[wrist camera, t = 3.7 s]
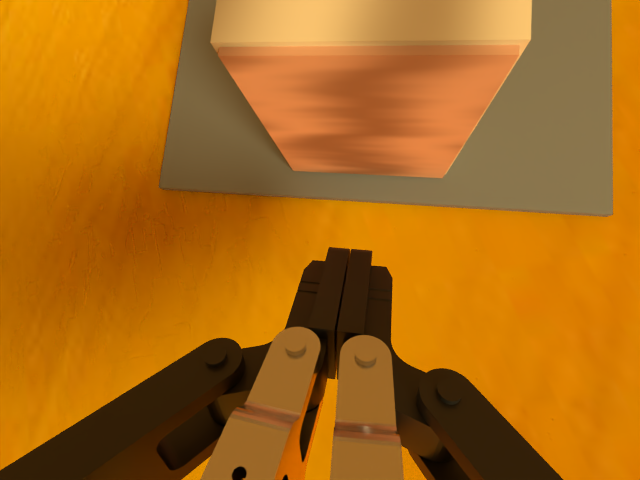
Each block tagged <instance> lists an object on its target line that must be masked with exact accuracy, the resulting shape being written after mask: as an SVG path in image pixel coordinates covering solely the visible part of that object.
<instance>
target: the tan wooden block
mask: <svg viewBox="0 0 640 480" xmlns="http://www.w3.org/2000/svg"><path fill="white" fill-rule="evenodd" d="M531 15H532V0H217V2H216V8H215V15H214V22H213V28H212V35H211V41H210V43H211V44H212V46H213V47H214V49H215V50H216V52H217V53H218V57H219V58H220V60H221V61H222V63H223V64H224V66H225V67H226V69H227V70H228V72H229V73H230V75H231V76H232V78H233V79H234V81H235V83H236V84H237V86H238V87H239V89H240V90H241V92H242V93H243V95H244V96H245V98H246V99H247V101H248V102H249V104H250V105H251V107H252V109H253V110H254V112H255V113H256V115H257V116H258V118H259V119H260V121H261V122H262V124H263V125H264V127H265V128H266V130H267V131H268V133H269V135H270V136H271V138H272V139H273V141H274V142H275V144H276V145H277V147H278V148H279V150H280V151H281V153H282V154H283V156H284V157H285V159H286V161H287V162H288V164H289V165H290V167H291V168H292V170H293V171H305V172H325V173H345V174H366V175H386V176H407V177H427V178H443V177H444V175H445V174H446V173H447V172H448V170H449V168H450V167H451V165H452V164H453V162H454V160H455V159H456V157H457V156H458V154H459V153H460V151H461V149H462V148H463V146H464V145H465V143H466V141H467V140H468V138H469V137H470V135H471V134H472V132H473V130H474V129H475V127H476V126H477V124H478V122H479V121H480V119H481V118H482V116H483V115H484V113H485V111H486V110H487V108H488V107H489V105H490V103H491V102H492V100H493V99H494V97H495V96H496V94H497V92H498V91H499V89H500V88H501V86H502V84H503V83H504V81H505V80H506V78H507V77H508V75H509V73H510V72H511V70H512V69H513V67H514V65H515V64H516V62H517V61H518V59H519V58H520V56H521V54H522V53H523V51H524V50H525V48H526V46H527V45H528V43H529V42H530V40H531Z"/></svg>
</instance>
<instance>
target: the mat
mask: <svg viewBox="0 0 640 480" xmlns="http://www.w3.org/2000/svg"><path fill="white" fill-rule="evenodd" d="M216 2H217V0H189V4H188V10H187V16H186V22H185V28H184V35H183V41H182V47H181V53H180V59H179V65H178V72H177V78H176V84H175V90H174V96H173V102H172V109H171V115H170V121H169V127H168V133H167V140H166V146H165V152H164V158H163V164H162V170H161V177H160V183H159V188H161V189H163V190H179V191H195V192H212V193H228V194H244V195H261V196H277V197H293V198H310V199H326V200H343V201H359V202H375V203H392V204H408V205H424V206H441V207H457V208H474V209H490V210H506V211H523V212H539V213H555V214H572V215H588V216H605V217H607V216H610V215H613V167H612V34H611V0H532V15H531V40H530V42H529V43H528V45H527V46H526V48H525V50H524V51H523V53H522V54H521V56H520V58H519V59H518V61H517V62H516V64H515V65H514V67H513V69H512V70H511V72H510V73H509V75H508V77H507V78H506V80H505V81H504V83H503V84H502V86H501V88H500V89H499V91H498V92H497V94H496V96H495V97H494V99H493V100H492V102H491V103H490V105H489V107H488V108H487V110H486V111H485V113H484V115H483V116H482V118H481V119H480V121H479V122H478V124H477V126H476V127H475V129H474V130H473V132H472V134H471V135H470V137H469V138H468V140H467V141H466V143H465V145H464V146H463V148H462V149H461V151H460V153H459V154H458V156H457V157H456V159H455V160H454V162H453V164H452V165H451V167H450V168H449V170H448V172H447V173H446V174H445V175H444V177H443V178H427V177H407V176H386V175H366V174H345V173H325V172H305V171H293V170H292V168H291V167H290V165H289V164H288V162H287V161H286V159H285V157H284V156H283V154H282V153H281V151H280V150H279V148H278V147H277V145H276V144H275V142H274V141H273V139H272V138H271V136H270V135H269V133H268V131H267V130H266V128H265V127H264V125H263V124H262V122H261V121H260V119H259V118H258V116H257V115H256V113H255V112H254V110H253V109H252V107H251V105H250V104H249V102H248V101H247V99H246V98H245V96H244V95H243V93H242V92H241V90H240V89H239V87H238V86H237V84H236V83H235V81H234V79H233V78H232V76H231V75H230V73H229V72H228V70H227V69H226V67H225V66H224V64H223V63H222V61H221V60H220V58H219V57H218V53H217V52H216V50H215V49H214V47H213V46H212V44H211V43H210V41H211V35H212V28H213V22H214V15H215V8H216Z"/></svg>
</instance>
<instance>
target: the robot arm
mask: <svg viewBox="0 0 640 480" xmlns="http://www.w3.org/2000/svg"><path fill="white" fill-rule="evenodd" d="M371 261H372V251H369V250H357V249H351V253H350V249H344V248H333V247H329V249H328V253H327V257H326V260H325V261H315V260H313V261H312V262H311V263H310V264H309V265H308V266H307V267H306V268H305V269H304V271H303V274H302V278H301V281H300V284H299V287H298V291H297V293H296V296H295V299H294V302H293V306H292V309H291V312H290V315H289V318H288V321H287V324H286V327H285V329H284V330H283V331H281V332H280V333H279V334H278V335H277V336H276V337H275V338H274V340H273V341H272V342H270V343H268V344H265V345H261V346H255V347H249V348H243V349H241V347H240V346H239V344H238V343H237V342H235V341H234V340H231V339H228V338H217V339H213V340H210V341H208V342H206V343H204V344H203V345H201V346H199V347H198V348H196V349H195V350H193V351H191V352H190V353H188V354H187V355H185V356H183V357H182V358H180V359H179V360H177V361H175V362H174V363H172V364H170V365H169V366H167V367H166V368H164V369H162V370H161V371H159V372H158V373H156V374H154V375H153V376H151V377H150V378H148V379H146V380H145V381H143V382H142V383H140V384H138V385H137V386H135V387H134V388H132V389H130V390H129V391H127V392H126V393H124V394H122V395H121V396H119V397H118V398H116V399H114V400H113V401H111V402H109V403H108V404H106V405H105V406H103V407H101V408H100V409H98V410H97V411H95V412H93V413H92V414H90V415H89V416H87V417H85V418H84V419H82V420H81V421H79V422H77V423H76V424H74V425H73V426H71V427H69V428H68V429H66V430H65V431H63V432H61V433H60V434H58V435H56V436H55V437H53V438H52V439H50V440H48V441H47V442H45V443H44V444H42V445H40V446H39V447H37V448H36V449H34V450H32V451H31V452H29V453H28V454H26V455H24V456H23V457H21V458H20V459H18V460H16V461H15V462H13V463H12V464H10V465H8V466H7V467H5V468H3V469H2V470H0V480H181V479H183V478H184V477H185V476H186V475H188V474H189V473H190V472H191V471H192V470H194V469H195V468H196V467H197V466H199V465H200V464H201V463H202V462H204V461H205V460H206V459H207V458H208V457H210V456H211V455H212V456H211V458H210V460H209V462H208V464H207V466H206V469H205V471H204V473H203V475H202V477H201V479H200V480H304V479H305V471H306V466H307V461H308V457H309V454H310V450H311V446H312V442H313V438H314V434H315V431H316V427H317V423H318V419H319V415H320V411H321V408H322V404H323V397H324V393H325V387H326V382H327V378H330V379H335V375H336V369H337V379H338V391H337V405H336V420H335V427H334V435H333V447H332V461H331V475H330V480H404V477H403V464H402V450H401V445H402V446H403V447H405V448H407V449H408V451H409V453H410V455H411V457H412V458H413V460H414V461H415V463H416V464H417V466H418V467H419V469H420V470H421V472H422V473H423V475H424V476H425V478H426V479H427V480H563V479H562V478H561V477H560V476H559V475H558V474H557V473H556V472H555V471H554V469H553V468H552V467H551V466H550V465H549V464H548V463H547V462H546V461H545V460H544V459H543V458H542V457H541V456H540V455H539V454H538V453H537V452H536V451H535V450H534V448H533V447H532V446H531V445H530V444H529V443H528V442H527V441H526V440H525V439H524V438H523V437H522V436H521V435H520V434H519V433H518V432H517V431H516V430H515V429H514V427H513V426H512V425H511V424H510V423H509V422H508V421H507V420H506V419H505V418H504V417H503V416H502V415H501V414H500V413H499V412H498V411H497V410H496V409H495V408H494V407H493V405H492V404H491V403H490V402H489V401H488V400H487V399H486V398H485V397H484V396H483V395H482V394H481V393H480V392H479V391H478V390H477V389H476V388H475V387H474V386H473V384H472V383H471V382H470V381H469V380H468V379H466V378H465V377H464V376H463V375H461V374H459V373H458V372H455V371H453V370H449V369H443V368H440V369H433V370H431V371H429V372H427V373H425V372H423V371H421V370H419V369H416V368H414V367H412V366H410V365H408V364H406V363H405V362H404V361H402V360H401V359H400V358H399V357H398V356H397V355H396V353H395V352H394V350H393V348H392V344H391V310H392V277H391V275H390V273H389V271H388V269H387V267H381V266H371Z"/></svg>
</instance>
